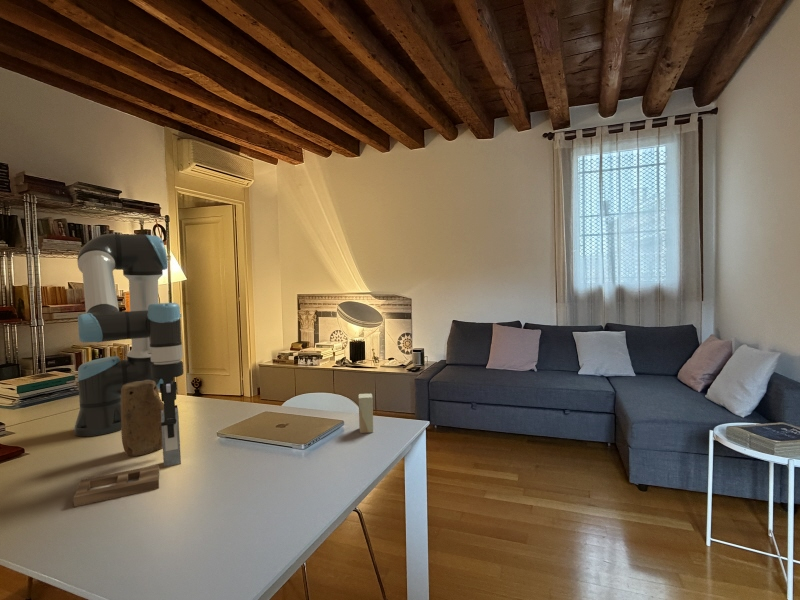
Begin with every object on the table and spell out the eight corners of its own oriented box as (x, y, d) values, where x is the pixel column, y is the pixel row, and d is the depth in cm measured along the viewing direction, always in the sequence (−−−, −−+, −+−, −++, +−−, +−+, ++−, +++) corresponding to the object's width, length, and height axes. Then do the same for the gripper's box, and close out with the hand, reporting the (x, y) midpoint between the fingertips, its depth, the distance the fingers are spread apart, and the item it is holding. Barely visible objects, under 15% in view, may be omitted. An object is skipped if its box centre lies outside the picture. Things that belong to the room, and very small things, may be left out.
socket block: (81, 488, 103) (81, 479, 103) (159, 472, 111) (158, 464, 111) (74, 506, 95) (73, 497, 94) (158, 488, 102) (158, 479, 102)
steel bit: (163, 461, 118) (161, 410, 117) (180, 458, 119) (177, 407, 119) (163, 467, 114) (160, 413, 113) (181, 463, 116) (178, 411, 115)
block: (125, 459, 120) (121, 387, 119) (121, 452, 125) (117, 382, 125) (169, 449, 127) (166, 380, 126) (163, 442, 132) (160, 376, 132)
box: (359, 427, 140) (358, 393, 140) (373, 427, 141) (372, 392, 140) (359, 433, 135) (358, 397, 134) (373, 432, 135) (372, 397, 135)
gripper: (151, 357, 125) (155, 431, 125) (149, 370, 103) (154, 460, 103) (181, 354, 128) (185, 426, 129) (184, 367, 106) (189, 453, 107)
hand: (171, 441), depth 116 cm, fingers open, 13 cm apart
